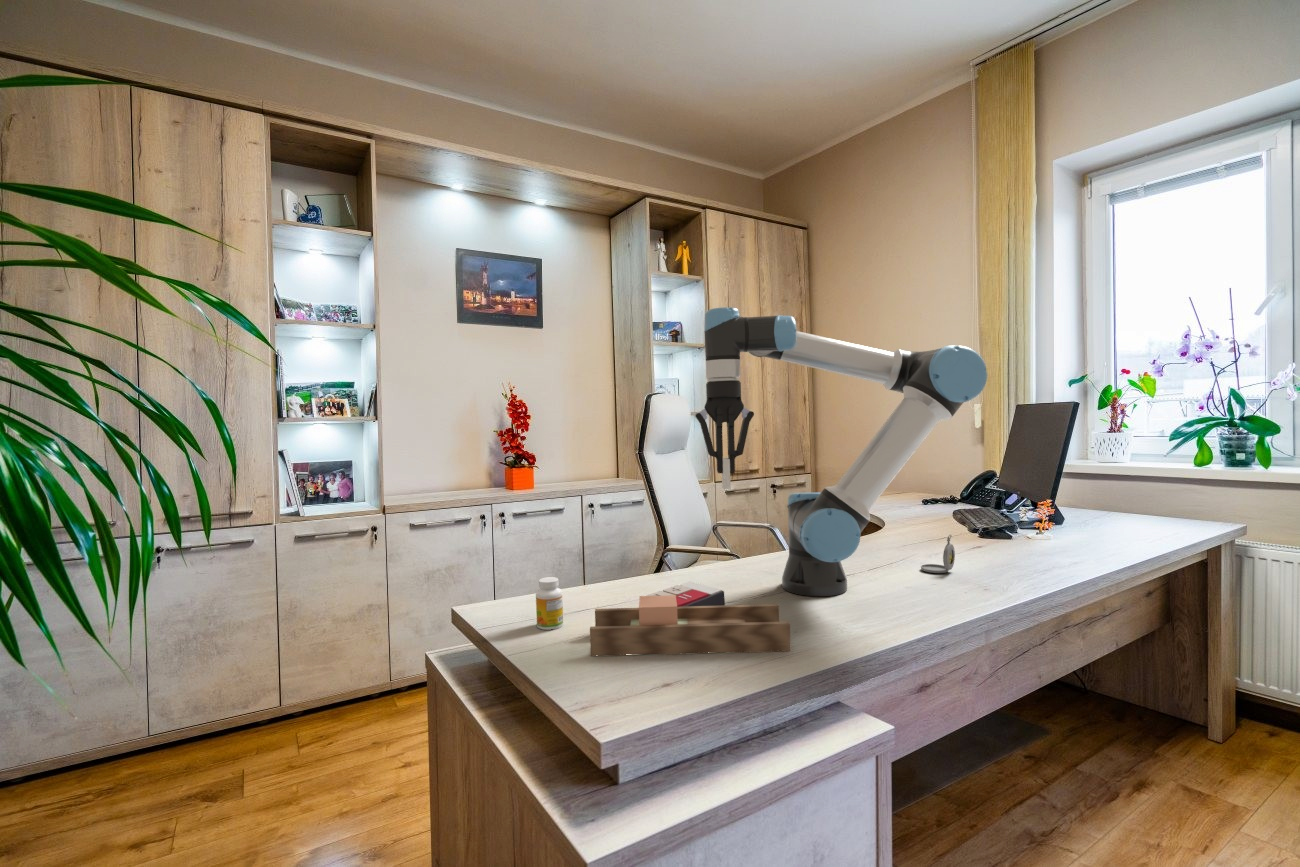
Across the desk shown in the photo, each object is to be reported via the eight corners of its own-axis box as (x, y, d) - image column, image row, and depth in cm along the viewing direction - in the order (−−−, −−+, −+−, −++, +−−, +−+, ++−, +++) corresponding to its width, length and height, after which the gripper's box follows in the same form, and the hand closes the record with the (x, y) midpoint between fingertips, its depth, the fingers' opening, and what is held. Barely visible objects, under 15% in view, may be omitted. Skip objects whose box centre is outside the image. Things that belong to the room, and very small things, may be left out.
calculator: (641, 595, 141) (690, 578, 151) (642, 614, 141) (691, 596, 151) (675, 606, 133) (724, 587, 142) (676, 626, 133) (725, 606, 143)
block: (676, 620, 125) (675, 595, 124) (677, 633, 118) (677, 606, 117) (640, 621, 125) (639, 596, 124) (639, 634, 118) (638, 607, 117)
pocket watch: (917, 567, 170) (917, 530, 169) (951, 568, 169) (951, 530, 168) (926, 576, 162) (926, 536, 161) (962, 576, 160) (961, 536, 160)
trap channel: (778, 628, 127) (777, 604, 127) (790, 651, 116) (789, 623, 115) (596, 633, 127) (595, 608, 127) (590, 656, 116) (589, 628, 116)
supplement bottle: (534, 624, 134) (532, 578, 134) (559, 620, 136) (557, 574, 136) (540, 632, 129) (538, 584, 129) (566, 627, 131) (564, 580, 131)
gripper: (750, 379, 144) (753, 484, 145) (692, 381, 144) (695, 486, 145) (756, 378, 136) (759, 489, 137) (694, 380, 136) (698, 491, 137)
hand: (726, 487), depth 141 cm, fingers closed
